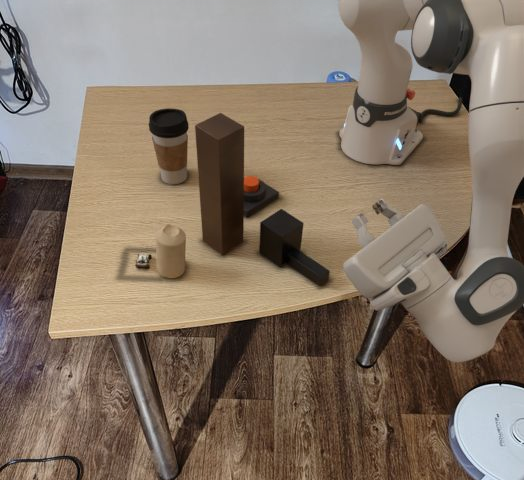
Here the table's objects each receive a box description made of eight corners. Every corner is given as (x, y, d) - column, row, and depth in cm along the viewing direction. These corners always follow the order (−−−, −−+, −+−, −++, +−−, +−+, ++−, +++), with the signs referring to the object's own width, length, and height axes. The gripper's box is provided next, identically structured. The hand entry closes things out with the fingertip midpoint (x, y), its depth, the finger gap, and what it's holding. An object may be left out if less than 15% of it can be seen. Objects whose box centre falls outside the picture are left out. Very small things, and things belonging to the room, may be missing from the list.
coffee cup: (186, 190, 125) (181, 129, 113) (150, 184, 126) (141, 123, 114) (196, 168, 130) (192, 108, 118) (162, 163, 131) (154, 102, 119)
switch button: (250, 180, 123) (250, 173, 121) (262, 187, 121) (262, 181, 120) (239, 187, 121) (239, 180, 120) (250, 194, 120) (250, 188, 118)
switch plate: (253, 182, 128) (253, 169, 125) (278, 198, 124) (279, 185, 122) (221, 200, 123) (221, 187, 120) (247, 217, 120) (247, 204, 117)
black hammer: (278, 239, 116) (281, 208, 110) (333, 275, 110) (339, 245, 104) (259, 252, 113) (260, 222, 107) (314, 291, 107) (319, 261, 101)
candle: (161, 281, 107) (160, 242, 99) (153, 261, 110) (151, 222, 102) (188, 275, 109) (190, 236, 101) (179, 256, 112) (180, 217, 104)
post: (223, 228, 118) (220, 112, 97) (243, 242, 115) (244, 126, 94) (202, 241, 115) (194, 125, 94) (222, 255, 112) (218, 139, 92)
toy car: (151, 256, 111) (150, 249, 110) (148, 271, 109) (147, 263, 107) (138, 256, 111) (137, 248, 110) (135, 270, 109) (134, 263, 107)
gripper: (464, 240, 92) (415, 172, 91) (392, 303, 82) (337, 228, 82) (439, 254, 97) (393, 191, 97) (368, 315, 88) (316, 246, 87)
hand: (366, 209), depth 89 cm, fingers open, 4 cm apart
